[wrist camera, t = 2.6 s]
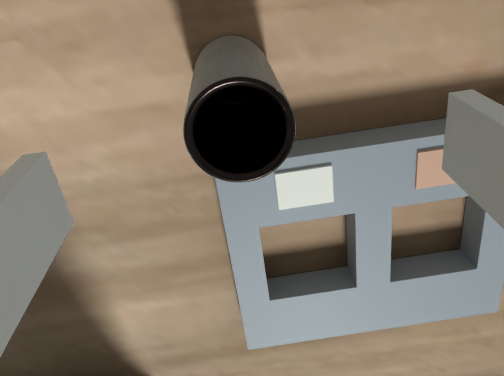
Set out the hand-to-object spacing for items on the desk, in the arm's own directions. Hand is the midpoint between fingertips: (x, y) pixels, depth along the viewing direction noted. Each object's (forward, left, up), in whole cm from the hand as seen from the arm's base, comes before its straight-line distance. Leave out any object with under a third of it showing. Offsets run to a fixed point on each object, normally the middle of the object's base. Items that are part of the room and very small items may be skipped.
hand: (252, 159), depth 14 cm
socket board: (+8, -13, -13) cm, 20 cm away
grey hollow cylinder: (0, 0, -14) cm, 14 cm away
